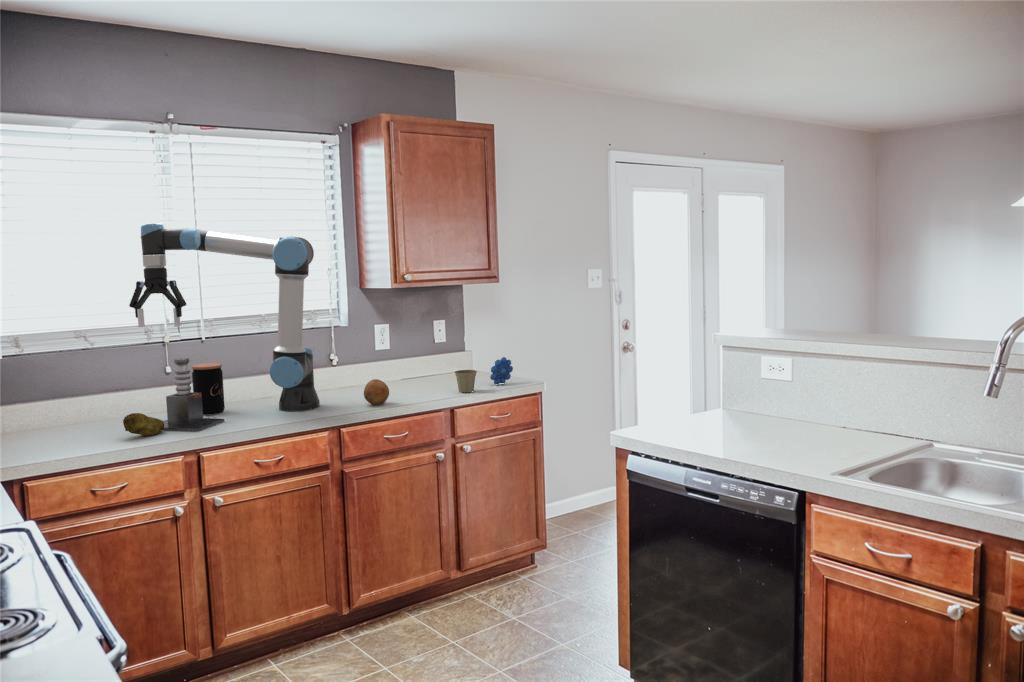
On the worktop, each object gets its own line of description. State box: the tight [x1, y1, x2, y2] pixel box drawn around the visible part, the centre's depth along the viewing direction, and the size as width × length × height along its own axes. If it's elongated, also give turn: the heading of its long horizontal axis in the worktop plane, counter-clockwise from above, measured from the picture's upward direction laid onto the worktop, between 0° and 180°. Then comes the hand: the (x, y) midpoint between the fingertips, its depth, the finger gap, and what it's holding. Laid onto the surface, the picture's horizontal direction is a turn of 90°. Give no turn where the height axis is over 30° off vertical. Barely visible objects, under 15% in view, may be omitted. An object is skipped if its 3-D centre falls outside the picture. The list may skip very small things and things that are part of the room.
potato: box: [122, 412, 164, 437], centre depth 267 cm, size 8×13×8 cm, turn 125°
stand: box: [162, 391, 226, 433], centre depth 281 cm, size 20×16×11 cm
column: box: [173, 357, 192, 396], centre depth 280 cm, size 5×5×22 cm
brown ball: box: [363, 378, 390, 406], centre depth 312 cm, size 10×10×10 cm
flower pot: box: [453, 369, 478, 393], centre depth 336 cm, size 9×9×9 cm
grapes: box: [490, 356, 514, 385], centre depth 353 cm, size 12×7×12 cm, turn 125°
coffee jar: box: [191, 362, 225, 416], centre depth 303 cm, size 11×11×18 cm
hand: (159, 326), depth 291 cm, fingers open, 13 cm apart
